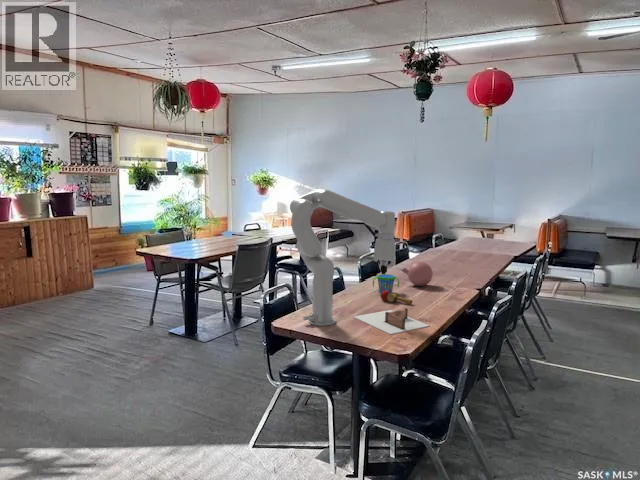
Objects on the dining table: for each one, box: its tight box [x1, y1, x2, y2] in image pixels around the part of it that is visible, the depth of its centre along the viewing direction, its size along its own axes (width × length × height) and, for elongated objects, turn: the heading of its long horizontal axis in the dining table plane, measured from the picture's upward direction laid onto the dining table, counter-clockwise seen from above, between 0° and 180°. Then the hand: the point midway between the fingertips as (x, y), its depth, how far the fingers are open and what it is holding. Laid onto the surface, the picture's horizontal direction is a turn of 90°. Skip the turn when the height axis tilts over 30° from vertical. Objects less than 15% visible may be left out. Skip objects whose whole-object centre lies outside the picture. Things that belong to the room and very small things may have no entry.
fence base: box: [385, 312, 405, 329], centre depth 219 cm, size 2×13×5 cm, turn 30°
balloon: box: [400, 261, 434, 287], centre depth 298 cm, size 15×20×15 cm
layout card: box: [353, 309, 430, 335], centre depth 226 cm, size 23×29×1 cm
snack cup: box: [372, 273, 400, 294], centre depth 280 cm, size 16×10×10 cm
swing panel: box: [389, 307, 409, 318], centre depth 227 cm, size 11×2×4 cm, turn 122°
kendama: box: [380, 290, 413, 306], centre depth 260 cm, size 8×6×18 cm
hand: (383, 273), depth 232 cm, fingers closed
